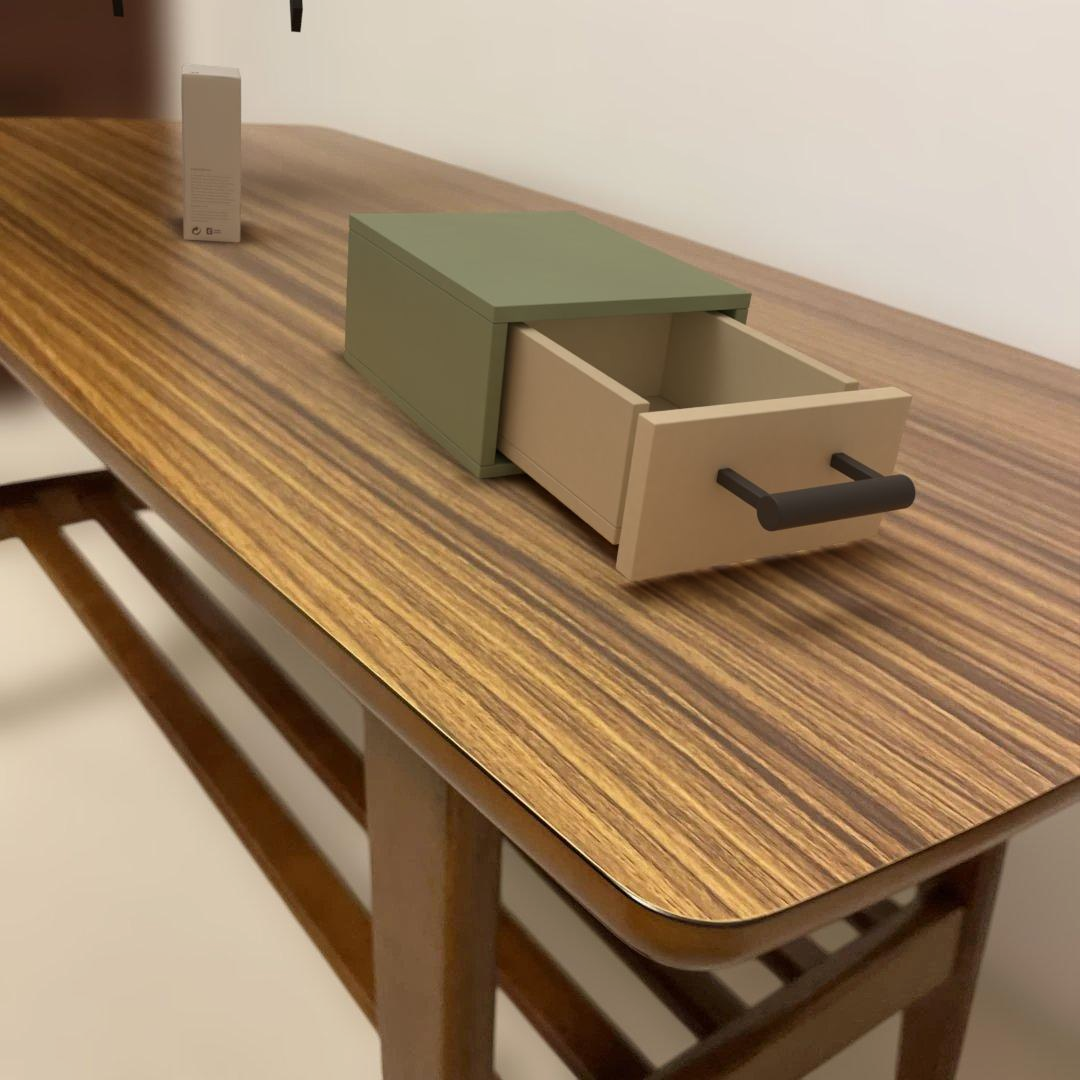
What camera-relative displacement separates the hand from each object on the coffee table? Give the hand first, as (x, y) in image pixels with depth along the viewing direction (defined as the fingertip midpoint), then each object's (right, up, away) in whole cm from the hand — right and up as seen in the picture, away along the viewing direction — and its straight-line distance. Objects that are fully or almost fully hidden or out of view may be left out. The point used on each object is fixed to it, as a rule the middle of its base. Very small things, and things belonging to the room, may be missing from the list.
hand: (209, 13), depth 97 cm
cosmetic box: (+1, -18, -2) cm, 18 cm away
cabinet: (+25, -34, -28) cm, 51 cm away
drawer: (+32, -40, -40) cm, 65 cm away
